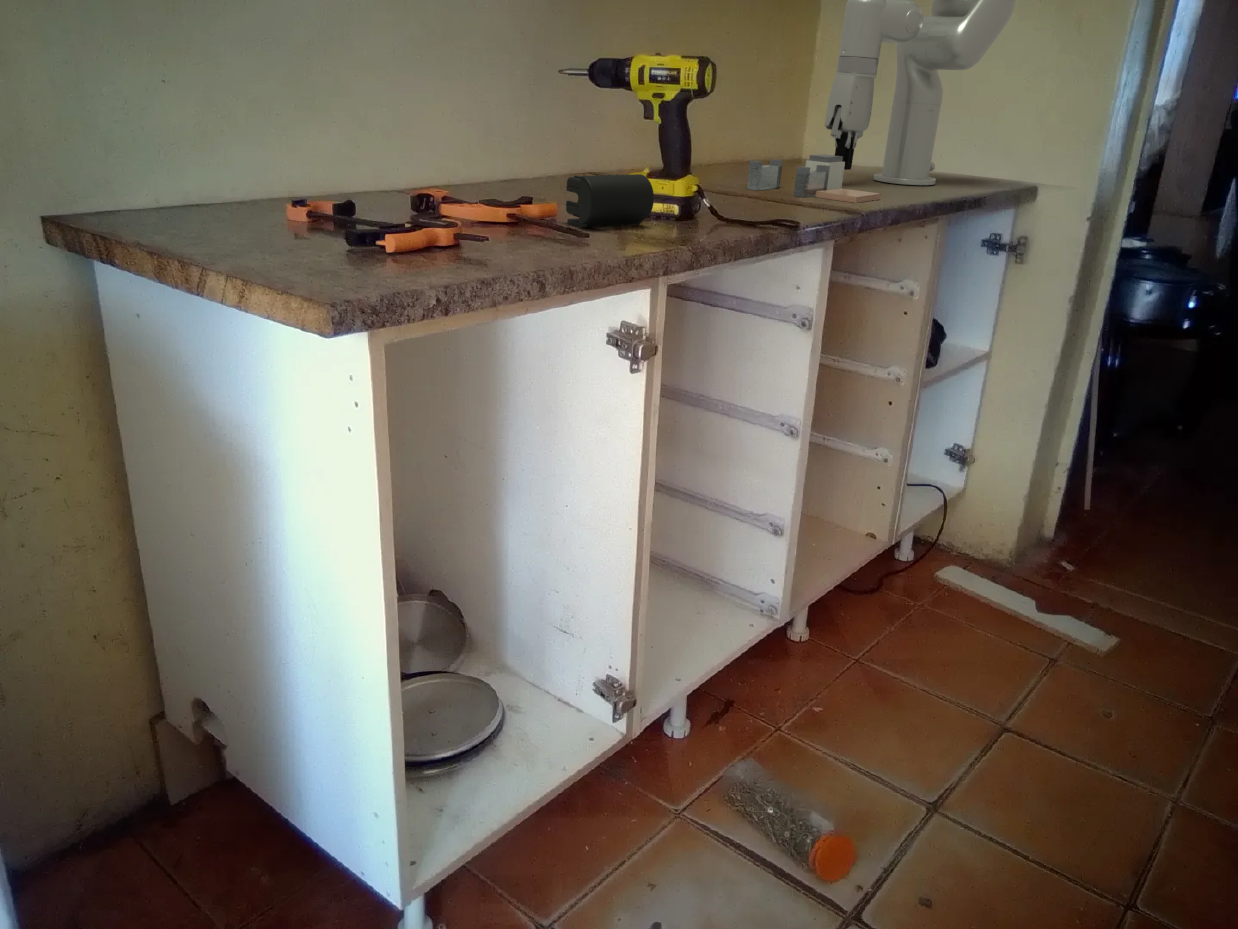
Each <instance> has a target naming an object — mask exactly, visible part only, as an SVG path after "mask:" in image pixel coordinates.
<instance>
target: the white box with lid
mask: <svg viewBox="0 0 1238 929" xmlns="http://www.w3.org/2000/svg"><path fill="white" fill-rule="evenodd" d="M808 159H809V160H806V161H805V167H810V171H816V167H817V165H826V166H830V169H829V176H828V184H827V190H831V189H840V188H842V187H843V182H844V180H843V179H844V173H845V170H844V166H845V162H842V160H843V156H835V154H834V155H833V154H825V153H824V154H823V153H821V154H810V155H809V158H808ZM842 189H843V188H842Z"/></svg>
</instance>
